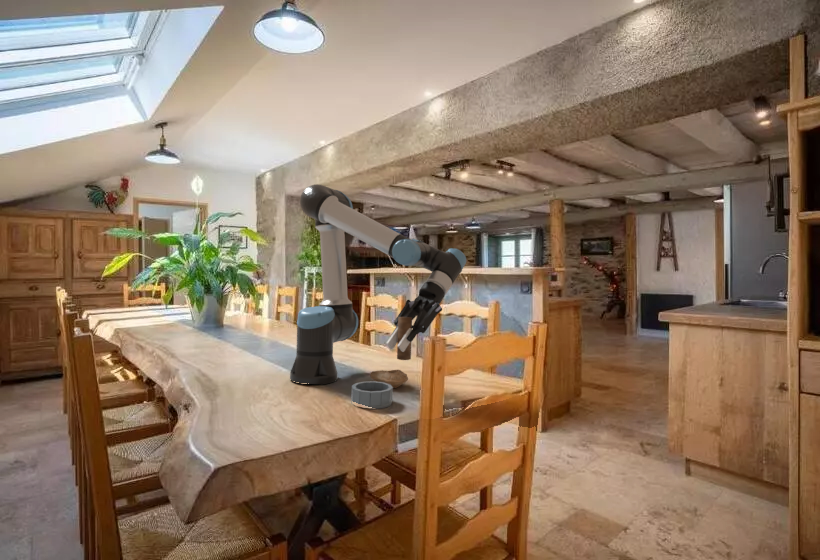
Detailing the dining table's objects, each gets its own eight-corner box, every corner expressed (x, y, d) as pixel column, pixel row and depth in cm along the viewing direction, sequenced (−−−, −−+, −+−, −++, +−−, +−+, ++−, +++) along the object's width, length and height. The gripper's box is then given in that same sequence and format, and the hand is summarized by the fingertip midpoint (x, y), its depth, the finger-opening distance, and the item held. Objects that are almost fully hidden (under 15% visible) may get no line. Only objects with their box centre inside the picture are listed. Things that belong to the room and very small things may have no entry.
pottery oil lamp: (376, 378, 144) (386, 360, 145) (403, 397, 138) (414, 377, 139) (362, 374, 137) (374, 355, 137) (391, 394, 130) (403, 373, 131)
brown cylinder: (395, 359, 125) (396, 317, 124) (399, 356, 129) (400, 316, 128) (408, 360, 124) (410, 318, 123) (412, 357, 128) (413, 317, 127)
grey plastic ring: (345, 406, 115) (345, 389, 115) (360, 395, 126) (361, 379, 126) (384, 411, 113) (384, 394, 112) (396, 399, 123) (397, 383, 123)
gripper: (461, 299, 131) (422, 360, 119) (420, 295, 142) (381, 351, 131) (451, 281, 127) (409, 343, 115) (409, 279, 138) (368, 335, 127)
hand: (394, 347), depth 123 cm, fingers closed on brown cylinder, 4 cm apart
